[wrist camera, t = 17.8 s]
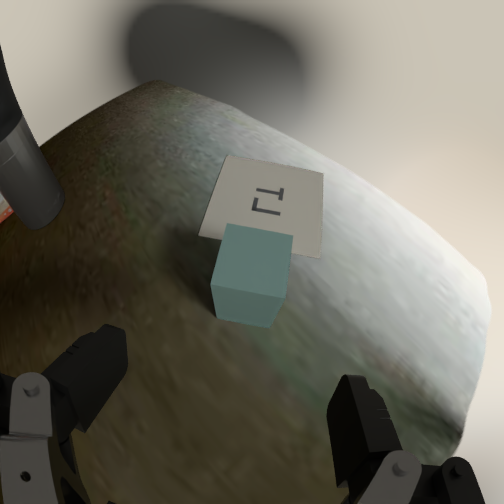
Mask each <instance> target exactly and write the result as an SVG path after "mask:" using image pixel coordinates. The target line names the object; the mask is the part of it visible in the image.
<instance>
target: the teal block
mask: <svg viewBox="0 0 504 504" xmlns="http://www.w3.org/2000/svg"><path fill="white" fill-rule="evenodd" d="M292 242H293V235H288V234H283V233H278V232H273V231H267V230H262V229H257V228H251V227H246V226H240V225H235V224H229V223H227V225H226V228H225V232H224V235H223V239H222V243H221V246H220V250H219V254H218V257H217V261H216V265H215V268H214V272H213V276H212V280H211V284H210V285H211V290H212V296H213V301H214V306H215V311H216V316H217V318H218V319H223V320H228V321H233V322H238V323H243V324H248V325H254V326H259V327H265V328H270V327H271V325H272V323H273V321H274V319H275V317H276V315H277V313H278V311H279V310H280V308H281V306H282V304H283V302H284V300H285V296H286V289H287V282H288V274H289V267H290V259H291V250H292Z"/></svg>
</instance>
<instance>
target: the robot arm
mask: <svg viewBox="0 0 504 504" xmlns="http://www.w3.org/2000/svg"><path fill="white" fill-rule="evenodd" d="M0 194H1V195H2V196H3V198H4V199H5V200H6V202H7V203H8V204H9V205H10V207H11V208H12V209H13V210H14V212H15V213H16V214H17V216H18V217H19V218H20V219H21V220H22V222H23V223H24V224H25V225H26V226H27V227H28V228H29V229H32V230H35V229H40V228H42V227H44V226H46V225H47V224H49V223H50V222H51V221H52V220H53V219H54V218H55V217H56V216H57V214H58V213H59V211H60V210H61V208H62V206H63V203H64V199H65V195H64V191H63V189H62V188H61V186H60V184H59V183H58V181H57V179H56V178H55V176H54V174H53V172H52V170H51V169H50V167H49V165H48V163H47V161H46V160H45V158H44V156H43V154H42V152H41V150H40V148H39V146H38V144H37V143H36V141H35V139H34V137H33V134H32V132H31V130H30V128H29V127H28V124H27V122H26V120H25V118H24V115H23V114H22V111H21V109H20V107H19V104H18V102H17V100H16V97H15V94H14V92H13V89H12V86H11V84H10V81H9V77H8V74H7V71H6V67H5V63H4V59H3V54H2V50H1V46H0ZM127 367H128V356H127V344H126V333H125V331H124V330H123V329H120V328H117V327H114V326H112V325H109V324H104V325H103V326H102V327H101V328H100V329H99V330H97V331H96V332H95V333H93V332H90V333H88V334H86V335H83V336H81V337H79V338H78V339H77V340H76V341H75V342H74V343H73V344H72V346H70V347H69V348H68V349H66V352H63V353H62V354H61V355H60V356H59V357H58V358H57V359H56V360H55V361H54V362H53V363H52V364H51V365H50V366H49V367H48V368H46V369H45V370H44V371H43V372H42V373H41V374H38V373H32V372H31V373H25V374H22V375H20V376H19V377H18V378H14V377H11V376H8V375H5V374H2V373H0V470H1V483H2V492H3V499H4V504H91V502H90V499H89V496H88V494H87V491H86V489H85V487H84V485H83V483H82V481H81V478H80V474H79V470H78V466H77V461H76V456H75V452H74V446H73V441H72V436H71V432H72V431H73V429H74V428H76V429H78V430H80V431H82V432H84V433H85V432H86V431H87V429H88V428H89V426H90V425H91V423H92V422H93V420H94V419H95V417H96V416H97V414H98V413H99V412H100V410H101V409H102V407H103V406H104V404H105V403H106V401H107V400H108V399H109V397H110V396H111V394H112V393H113V391H114V390H115V388H116V387H117V386H118V384H119V383H120V381H121V380H122V379H123V377H124V376H125V374H126V371H127ZM327 423H328V429H329V435H330V442H331V448H332V455H333V462H334V469H335V477H336V484H337V488H342V487H348V488H349V494H348V495H347V496H346V497H345V498H344V500H343V501H342V502H341V504H485V502H484V499H483V496H482V493H481V490H480V487H479V485H478V482H477V479H476V477H475V474H474V472H473V469H472V467H471V465H470V464H469V462H467V461H466V460H465V459H463V458H461V457H451V458H449V459H447V460H446V461H445V462H444V463H443V464H442V465H441V466H433V465H423V464H421V463H420V461H419V460H418V458H417V457H416V456H415V455H413V454H412V453H410V452H407V451H403V449H402V447H401V444H400V441H399V439H398V436H397V433H396V431H395V428H394V425H393V423H392V420H390V415H389V413H388V411H387V408H386V405H385V403H384V400H383V398H382V397H381V396H380V395H379V394H378V393H377V392H376V391H375V390H374V389H370V388H369V386H368V383H367V381H366V378H365V377H364V376H361V375H346V374H345V375H343V376H342V377H341V379H340V381H339V383H338V386H337V388H336V390H335V392H334V394H333V396H332V398H331V400H330V402H329V404H328V408H327ZM107 504H115V503H113V502H111V501H108V503H107Z"/></svg>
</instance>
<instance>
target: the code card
mask: <svg viewBox="0 0 504 504" xmlns="http://www.w3.org/2000/svg"><path fill="white" fill-rule="evenodd" d="M322 214H323V173H319V172H315V171H310V170H306V169H301V168H296V167H291V166H286V165H281V164H276V163H271V162H265V161H259V160H253V159H247V158H241V157H234V156H227V157H226V159H225V162H224V164H223V167H222V170H221V172H220V175H219V178H218V180H217V183H216V186H215V188H214V191H213V194H212V197H211V200H210V202H209V205H208V208H207V211H206V214H205V217H204V220H203V222H202V225H201V228H200V231H199V234H198V236H202V237H208V238H213V239H218V240H222V239H223V235H224V232H225V228H226V225H227V223H229V224H235V225H240V226H246V227H251V228H257V229H262V230H267V231H273V232H278V233H283V234H288V235H293V242H292V250H291V253H292V254H297V255H302V256H307V257H313V258H318V259H320V255H321V237H322Z"/></svg>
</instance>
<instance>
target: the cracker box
mask: <svg viewBox="0 0 504 504" xmlns="http://www.w3.org/2000/svg"><path fill="white" fill-rule="evenodd" d="M13 212H14V210H13V209H12V208H11V207H10V205H9V204H8V203H7V202H6V200H5V199H4V198H3V196H2V195H1V194H0V223H1V222H2V221H4V220H5V219H6V218H7V217H8V216H9V215H11V214H12V213H13Z"/></svg>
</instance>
